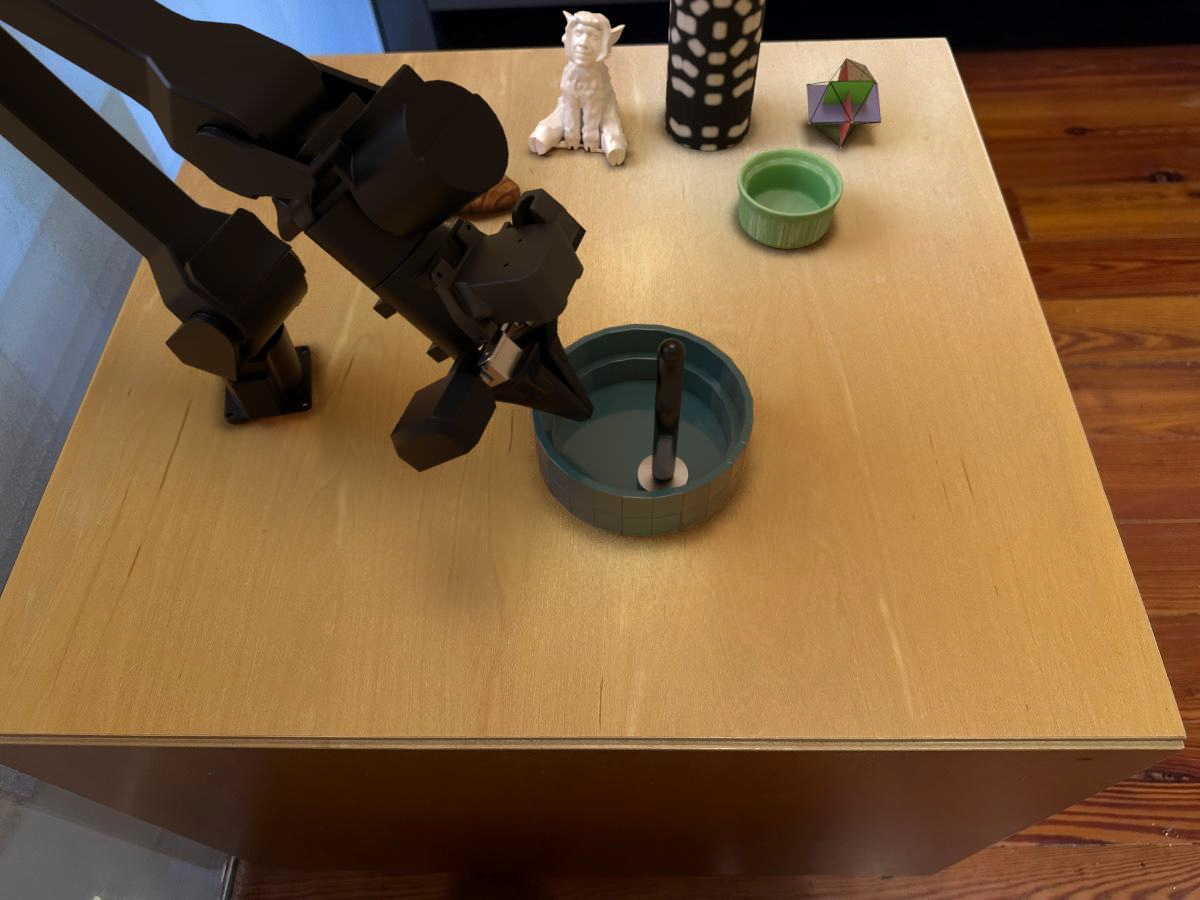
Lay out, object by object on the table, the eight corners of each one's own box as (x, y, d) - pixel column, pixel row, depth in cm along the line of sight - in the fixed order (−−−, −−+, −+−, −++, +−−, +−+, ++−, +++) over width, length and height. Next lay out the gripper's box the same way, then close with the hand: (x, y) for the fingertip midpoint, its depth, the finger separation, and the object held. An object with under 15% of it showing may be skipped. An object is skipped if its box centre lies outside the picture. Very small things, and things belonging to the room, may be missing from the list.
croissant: (367, 219, 83) (354, 174, 79) (388, 171, 87) (377, 126, 83) (514, 232, 82) (508, 187, 77) (528, 183, 85) (524, 137, 81)
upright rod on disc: (629, 472, 65) (631, 329, 53) (675, 457, 66) (688, 313, 54) (647, 512, 63) (654, 374, 51) (695, 497, 64) (714, 356, 52)
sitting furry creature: (526, 155, 88) (515, 37, 78) (549, 103, 93) (541, -15, 83) (623, 168, 86) (624, 50, 77) (641, 114, 91) (644, -4, 81)
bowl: (523, 389, 71) (517, 341, 67) (713, 358, 73) (719, 309, 68) (556, 558, 63) (552, 516, 58) (771, 519, 64) (782, 475, 60)
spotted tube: (752, 151, 88) (782, -66, 71) (665, 151, 88) (675, -65, 72) (746, 99, 92) (773, -115, 76) (663, 99, 93) (673, -115, 76)
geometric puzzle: (887, 147, 84) (895, 53, 82) (812, 148, 84) (818, 53, 82) (866, 148, 91) (873, 61, 89) (797, 148, 91) (802, 61, 89)
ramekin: (774, 174, 86) (781, 134, 82) (854, 218, 82) (865, 178, 78) (712, 221, 82) (716, 181, 78) (792, 270, 78) (801, 230, 75)
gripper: (402, 319, 42) (629, 511, 48) (547, 88, 52) (718, 274, 59) (297, 386, 50) (505, 543, 56) (441, 174, 60) (602, 329, 67)
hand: (588, 416), depth 59 cm, fingers closed
